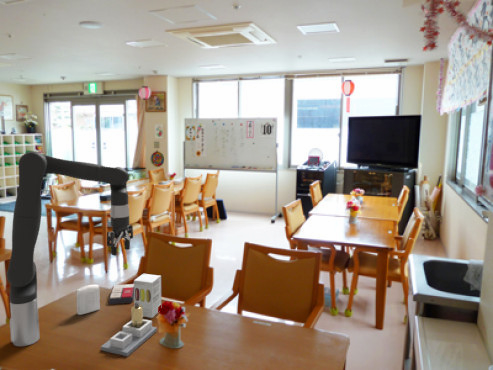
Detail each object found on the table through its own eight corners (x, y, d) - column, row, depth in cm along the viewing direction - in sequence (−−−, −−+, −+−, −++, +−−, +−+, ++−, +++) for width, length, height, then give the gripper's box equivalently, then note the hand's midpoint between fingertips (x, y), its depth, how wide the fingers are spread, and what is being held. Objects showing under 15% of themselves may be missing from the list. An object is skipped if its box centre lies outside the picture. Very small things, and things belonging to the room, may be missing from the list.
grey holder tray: (101, 350, 147) (100, 339, 147) (132, 325, 166) (132, 315, 166) (127, 356, 144) (127, 345, 143) (157, 330, 162) (156, 320, 162)
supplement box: (133, 315, 175) (132, 280, 173) (143, 306, 184) (142, 273, 182) (153, 318, 173) (152, 282, 171) (162, 309, 182) (161, 275, 180)
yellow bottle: (129, 332, 158) (128, 304, 156) (136, 327, 162) (135, 299, 160) (139, 334, 157) (138, 306, 155) (145, 328, 161) (144, 301, 159)
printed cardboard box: (108, 297, 186) (113, 284, 200) (109, 305, 187) (113, 291, 201) (132, 296, 188) (135, 282, 203) (132, 304, 189) (135, 290, 203)
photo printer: (97, 306, 184) (96, 281, 182) (101, 309, 181) (100, 284, 179) (75, 313, 177) (74, 287, 175) (79, 316, 174) (78, 290, 172)
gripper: (123, 211, 170) (124, 246, 172) (100, 217, 157) (102, 256, 159) (137, 212, 168) (138, 248, 170) (116, 219, 154) (117, 258, 157)
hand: (120, 252), depth 164 cm, fingers open, 8 cm apart
